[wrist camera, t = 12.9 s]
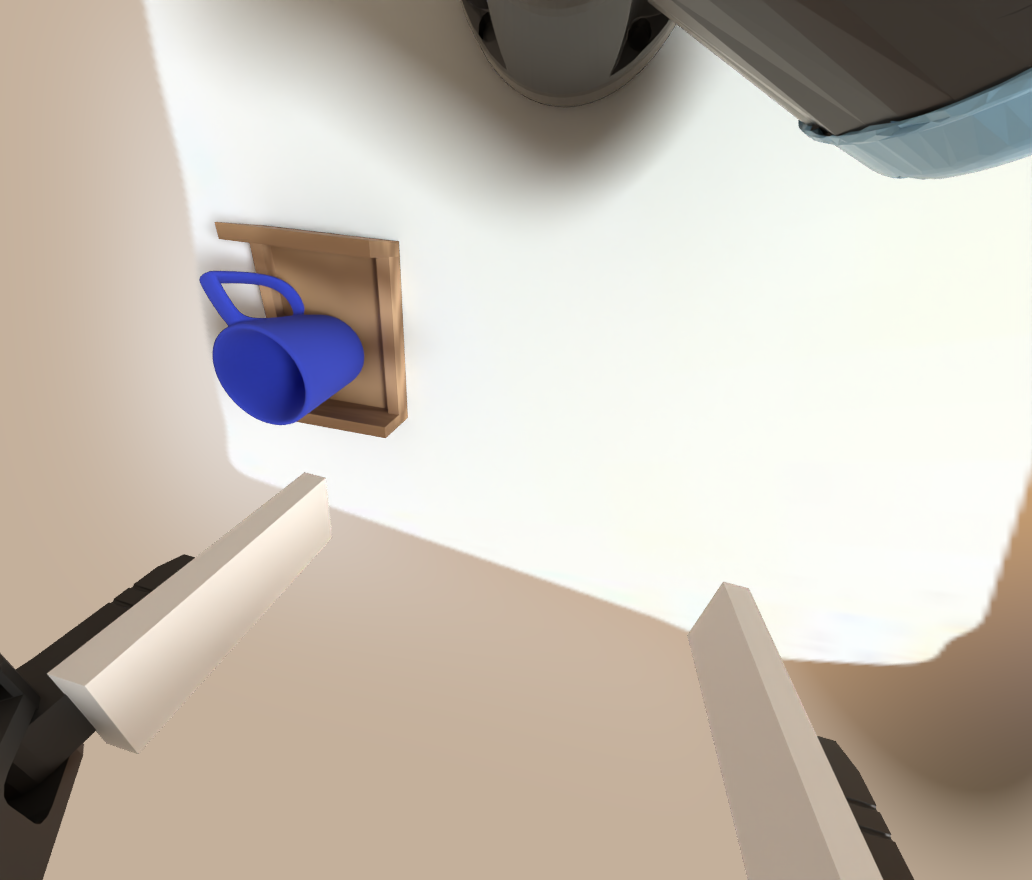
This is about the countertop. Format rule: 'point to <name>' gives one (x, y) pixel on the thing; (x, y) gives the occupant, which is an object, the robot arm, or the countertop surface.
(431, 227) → the countertop surface
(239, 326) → the mug
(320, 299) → the tray
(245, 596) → the robot arm
